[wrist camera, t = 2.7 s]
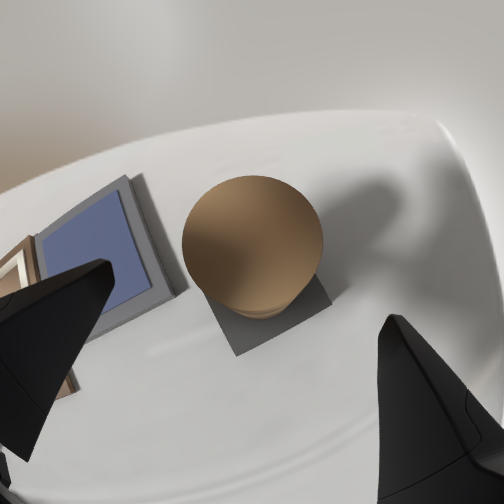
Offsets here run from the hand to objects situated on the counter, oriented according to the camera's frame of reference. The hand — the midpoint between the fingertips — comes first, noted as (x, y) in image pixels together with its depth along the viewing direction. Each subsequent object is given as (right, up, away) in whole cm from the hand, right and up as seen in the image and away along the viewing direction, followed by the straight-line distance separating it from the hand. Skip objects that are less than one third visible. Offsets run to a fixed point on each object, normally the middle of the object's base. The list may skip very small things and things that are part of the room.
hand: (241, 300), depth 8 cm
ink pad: (-11, 0, +10) cm, 15 cm away
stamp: (+1, -1, +9) cm, 9 cm away
